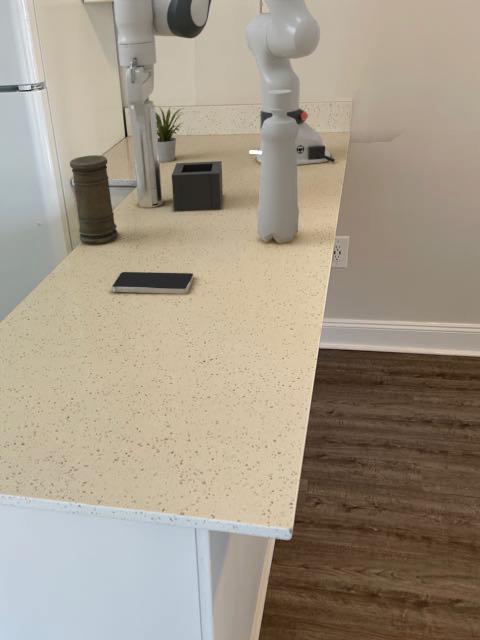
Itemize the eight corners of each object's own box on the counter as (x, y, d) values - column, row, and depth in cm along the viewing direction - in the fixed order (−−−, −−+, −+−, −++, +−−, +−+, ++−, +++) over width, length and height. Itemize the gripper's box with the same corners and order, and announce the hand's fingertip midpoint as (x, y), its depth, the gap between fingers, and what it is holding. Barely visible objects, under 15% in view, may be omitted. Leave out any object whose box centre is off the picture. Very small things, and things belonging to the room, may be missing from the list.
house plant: (200, 156, 220) (197, 101, 211) (177, 166, 211) (174, 110, 202) (164, 153, 227) (160, 100, 218) (140, 163, 218) (135, 108, 208)
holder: (222, 195, 182) (221, 161, 176) (220, 209, 172) (219, 173, 167) (178, 197, 183) (176, 163, 178) (174, 211, 173) (171, 175, 168)
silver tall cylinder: (164, 199, 182) (156, 98, 168) (161, 207, 177) (152, 103, 163) (140, 200, 183) (130, 100, 169) (137, 208, 178) (126, 105, 163)
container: (123, 232, 162) (114, 154, 152) (108, 246, 155) (97, 164, 145) (90, 231, 165) (79, 154, 154) (73, 244, 158) (61, 164, 148)
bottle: (302, 233, 153) (308, 87, 136) (291, 247, 146) (295, 95, 129) (264, 230, 156) (265, 87, 139) (251, 243, 150) (250, 95, 133)
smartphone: (186, 289, 129) (111, 287, 132) (186, 294, 130) (112, 292, 132) (193, 272, 135) (121, 271, 138) (193, 278, 136) (122, 276, 139)
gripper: (144, 60, 151) (150, 126, 159) (156, 50, 168) (160, 110, 176) (116, 62, 152) (123, 128, 160) (131, 52, 169) (136, 111, 176)
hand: (143, 118), depth 168 cm, fingers closed on silver tall cylinder, 6 cm apart
